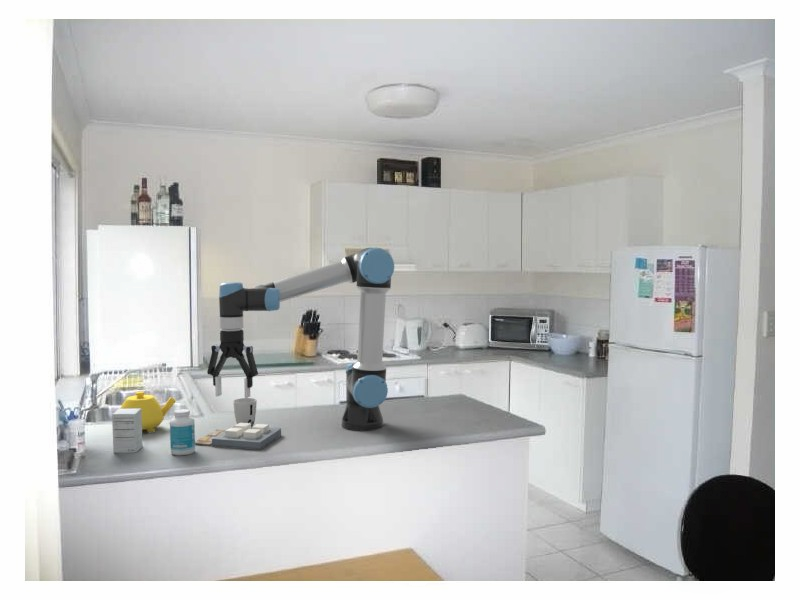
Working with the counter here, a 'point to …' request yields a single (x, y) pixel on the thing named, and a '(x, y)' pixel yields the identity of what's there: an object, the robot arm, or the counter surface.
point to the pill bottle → (182, 433)
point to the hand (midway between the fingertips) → (233, 396)
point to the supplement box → (127, 430)
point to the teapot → (148, 409)
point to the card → (208, 438)
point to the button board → (247, 440)
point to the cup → (245, 410)
